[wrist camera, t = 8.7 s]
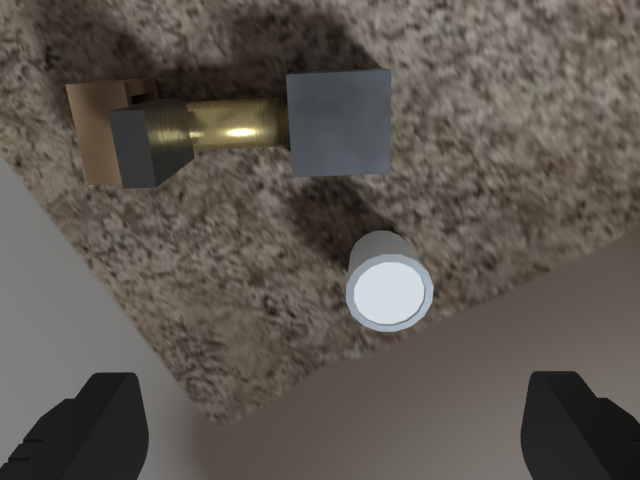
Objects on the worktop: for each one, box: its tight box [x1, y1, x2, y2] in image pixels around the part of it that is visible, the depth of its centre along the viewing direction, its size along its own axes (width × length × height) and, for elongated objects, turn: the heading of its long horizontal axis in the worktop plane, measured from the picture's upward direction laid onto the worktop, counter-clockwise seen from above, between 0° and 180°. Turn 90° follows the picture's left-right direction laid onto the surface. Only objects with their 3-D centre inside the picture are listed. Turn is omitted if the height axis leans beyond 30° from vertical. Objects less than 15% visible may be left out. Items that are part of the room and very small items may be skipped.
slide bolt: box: [108, 97, 290, 189], centre depth 32 cm, size 13×4×12 cm, turn 93°
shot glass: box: [346, 231, 433, 332], centre depth 40 cm, size 7×7×7 cm
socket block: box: [66, 78, 159, 185], centre depth 36 cm, size 4×7×6 cm, turn 2°
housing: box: [286, 67, 391, 177], centre depth 36 cm, size 7×7×6 cm
